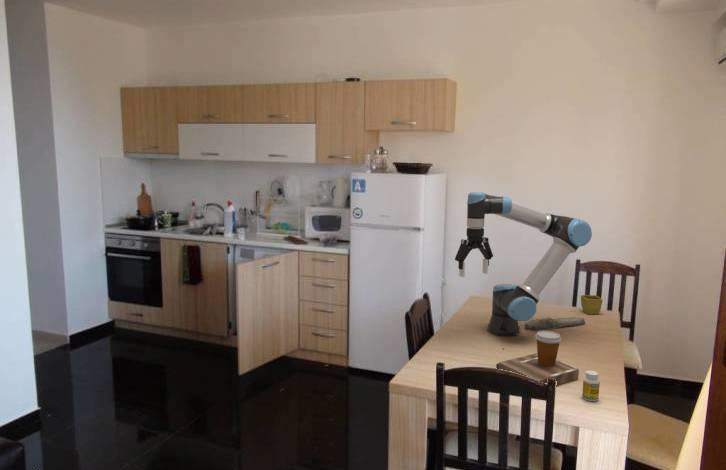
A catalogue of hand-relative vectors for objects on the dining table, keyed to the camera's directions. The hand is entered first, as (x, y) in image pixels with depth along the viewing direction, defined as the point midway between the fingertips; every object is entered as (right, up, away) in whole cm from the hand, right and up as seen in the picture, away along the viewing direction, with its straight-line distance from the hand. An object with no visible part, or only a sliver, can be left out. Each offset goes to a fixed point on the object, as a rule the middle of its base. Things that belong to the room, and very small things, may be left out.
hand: (473, 274), depth 242 cm
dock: (+18, -37, -31) cm, 52 cm away
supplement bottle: (+31, -40, -50) cm, 71 cm away
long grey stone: (+47, -28, +31) cm, 63 cm away
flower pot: (+74, -25, +53) cm, 95 cm away
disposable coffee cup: (+22, -33, -30) cm, 50 cm away
